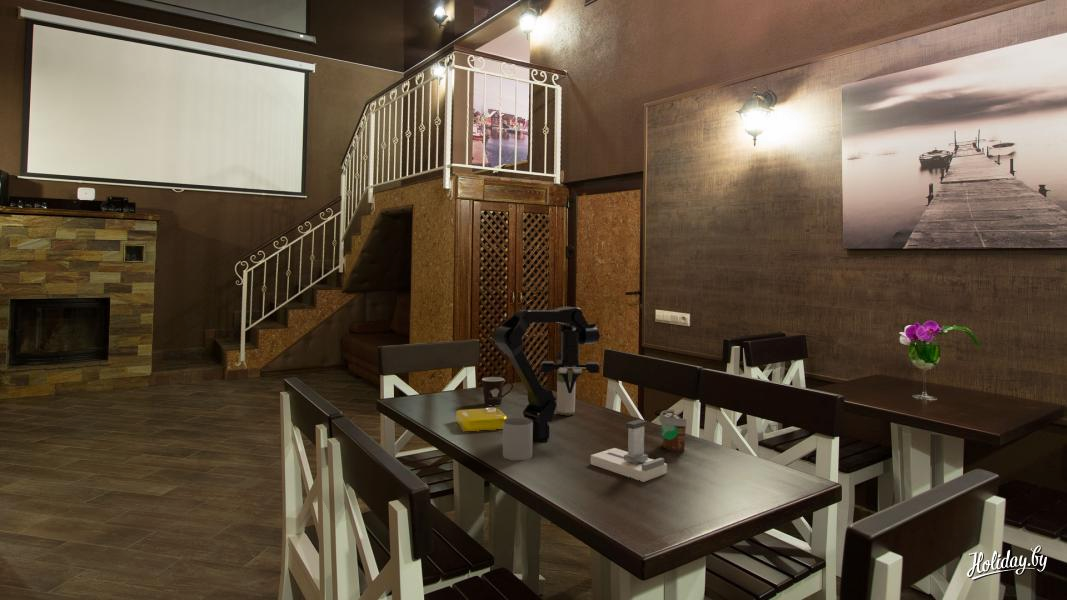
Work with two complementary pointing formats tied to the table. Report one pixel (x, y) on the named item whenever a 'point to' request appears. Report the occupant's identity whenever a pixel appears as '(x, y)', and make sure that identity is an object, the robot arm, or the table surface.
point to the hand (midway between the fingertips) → (569, 393)
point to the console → (629, 465)
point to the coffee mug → (494, 390)
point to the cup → (517, 438)
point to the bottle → (565, 395)
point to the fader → (636, 442)
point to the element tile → (480, 419)
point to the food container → (672, 430)
